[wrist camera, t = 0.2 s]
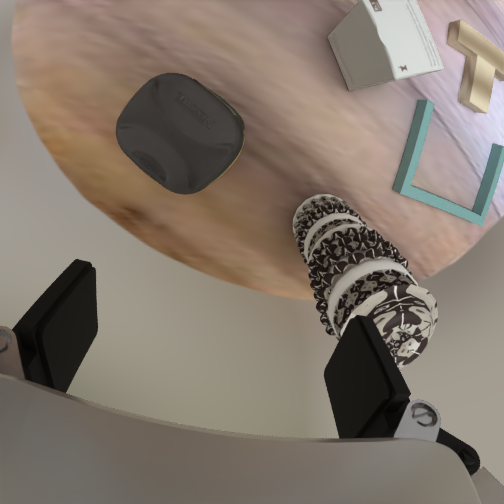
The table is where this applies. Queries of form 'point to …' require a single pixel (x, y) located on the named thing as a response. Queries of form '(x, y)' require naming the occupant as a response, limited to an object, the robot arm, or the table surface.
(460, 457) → the robot arm
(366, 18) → the skincare box
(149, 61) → the table surface
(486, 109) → the tee block
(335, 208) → the decorative candle
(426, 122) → the dock
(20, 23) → the table surface
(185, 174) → the coffee jar
